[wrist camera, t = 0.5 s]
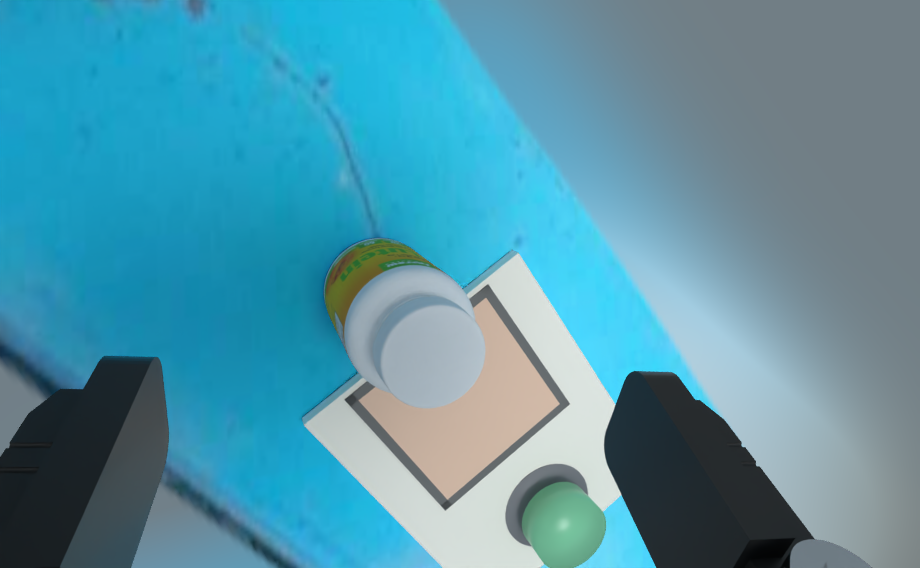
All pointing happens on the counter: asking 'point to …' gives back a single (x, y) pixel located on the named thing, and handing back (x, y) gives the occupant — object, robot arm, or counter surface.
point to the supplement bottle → (404, 323)
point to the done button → (563, 525)
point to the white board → (481, 432)
